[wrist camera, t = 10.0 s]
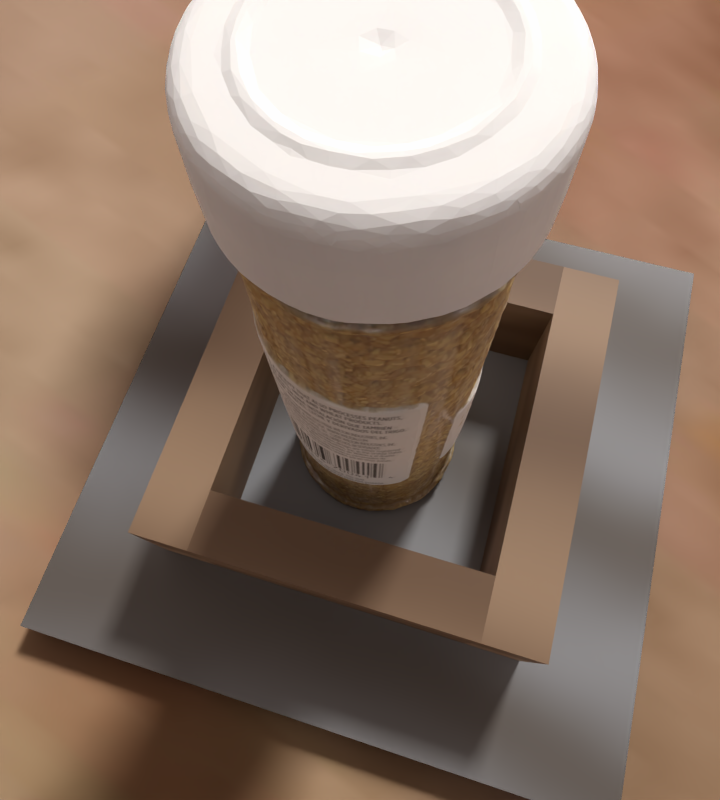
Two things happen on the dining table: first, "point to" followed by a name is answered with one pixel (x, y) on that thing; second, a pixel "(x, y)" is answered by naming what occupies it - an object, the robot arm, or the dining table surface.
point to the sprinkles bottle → (380, 201)
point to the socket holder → (397, 534)
